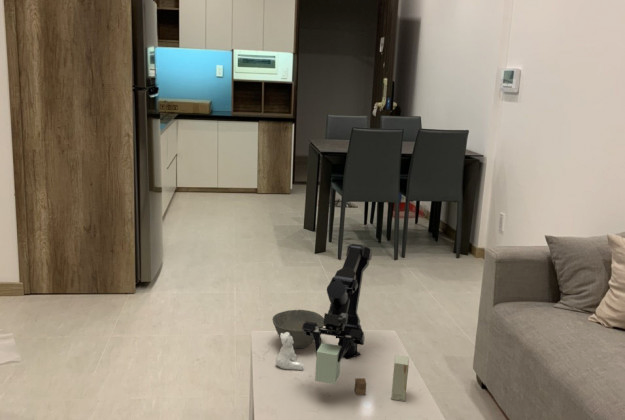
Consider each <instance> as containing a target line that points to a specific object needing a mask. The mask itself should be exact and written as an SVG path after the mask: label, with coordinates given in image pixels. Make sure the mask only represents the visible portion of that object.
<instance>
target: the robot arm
mask: <svg viewBox="0 0 625 420" xmlns="http://www.w3.org/2000/svg"><path fill="white" fill-rule="evenodd" d="M345 256H346V257H345V260H344V262H343V265H342V268H340V269H339V270H337V271H336V273H335V274H334V276H332V278H331V280H330V282H329V284H328V286H327V287H326V293H327V296H328V300H329V302H330V304H329V309H328V312H327V313H326V312H324V314H323V318H324V321H323V324H324V326H323V328H321V327H318V326H317V323H314V322H307V321H306V322H304V324H303V327H302V330H303V332H304V335H306V336H311V337H312V339H314V341H313V342H314V347H315V357H316V356H317V350H318V349H319V347H320V345H321V343H322V340H323V339H322V337H321V335H326V336H332V337H335V339H338V342H337V345H338V346H342V347H341V350H340V353H339V356H338V362H340V360H342V359H343V358H344V359H346V360H349V359H351V358H354V357H355V358H356V357H357V356H360V355H361V352H359V351H358V345H361V346H363V345H364V344H365V333H364V331H363V329H362V325H361V319H360V317H359V313H358V309H359V302H360V296H361V295H360V294H361V288H362V281H363V276H364V272H365V271H366V269H367V268H368V267H369V265H370V261H372V257H373V250H372V249H371V248H370V246H365V245H362V244H356V243H349V245H347V248H346V252H345Z"/></svg>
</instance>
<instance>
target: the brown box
mask: <svg viewBox="0 0 625 420" xmlns="http://www.w3.org/2000/svg"><path fill="white" fill-rule="evenodd" d="M366 392H367V381H366V378H360V377H358V378H357V377H356V378H355V379H354V393H355V395H356V396H366Z"/></svg>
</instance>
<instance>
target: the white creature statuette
mask: <svg viewBox="0 0 625 420" xmlns="http://www.w3.org/2000/svg"><path fill="white" fill-rule="evenodd" d="M280 337H281V338H280ZM279 338H280V342H281V345H282V346H281V347H280V350H279V353H278V355H276V358H275V363H276V365H277V367H279V368H280V369H283V370H290V371H291V370H293V371H303V370H304V368H305V367H304V363H303V362H300V361H297V358H298V357H297V354H296V353H295V348H293V345H292V344H293V343H294V342H293V339H292V338H293V337H292V336H290V333H288V332H285V333H284V334H283V333H281V335H280V336H279Z"/></svg>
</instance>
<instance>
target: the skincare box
mask: <svg viewBox="0 0 625 420" xmlns="http://www.w3.org/2000/svg"><path fill="white" fill-rule="evenodd" d="M394 357H395V358H394V365H393V374H392V376H393V377H392V385H391V397H390V399H391V400H396V401H402V402H405V401H406V395H407V383H408V373H409V365H410V364H409V363H410V357H409V356H405V355H400V354H395V356H394Z"/></svg>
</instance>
